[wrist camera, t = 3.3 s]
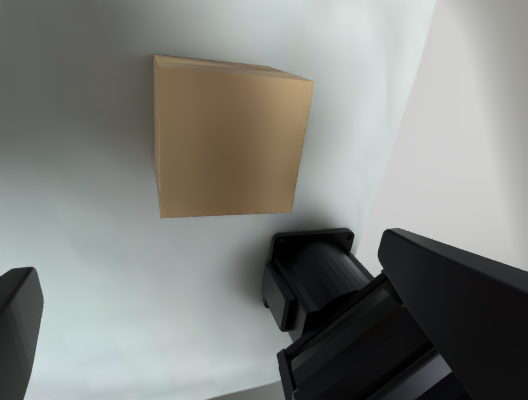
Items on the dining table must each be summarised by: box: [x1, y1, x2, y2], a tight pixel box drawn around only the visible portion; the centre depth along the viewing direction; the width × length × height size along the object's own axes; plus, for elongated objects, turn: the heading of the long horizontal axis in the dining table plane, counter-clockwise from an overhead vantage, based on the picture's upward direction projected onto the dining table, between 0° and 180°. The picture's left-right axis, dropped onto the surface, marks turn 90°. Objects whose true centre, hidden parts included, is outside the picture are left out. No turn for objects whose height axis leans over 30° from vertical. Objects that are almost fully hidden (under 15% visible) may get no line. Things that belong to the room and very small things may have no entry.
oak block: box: [153, 54, 314, 218], centre depth 17 cm, size 6×6×6 cm
